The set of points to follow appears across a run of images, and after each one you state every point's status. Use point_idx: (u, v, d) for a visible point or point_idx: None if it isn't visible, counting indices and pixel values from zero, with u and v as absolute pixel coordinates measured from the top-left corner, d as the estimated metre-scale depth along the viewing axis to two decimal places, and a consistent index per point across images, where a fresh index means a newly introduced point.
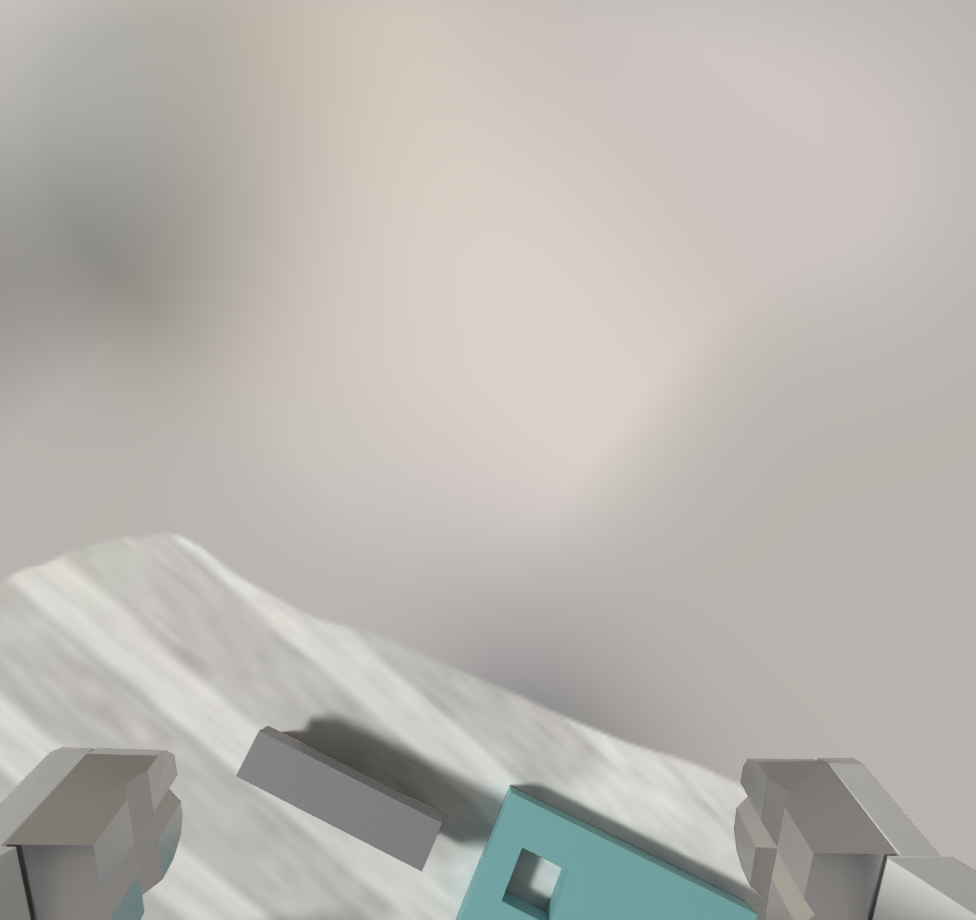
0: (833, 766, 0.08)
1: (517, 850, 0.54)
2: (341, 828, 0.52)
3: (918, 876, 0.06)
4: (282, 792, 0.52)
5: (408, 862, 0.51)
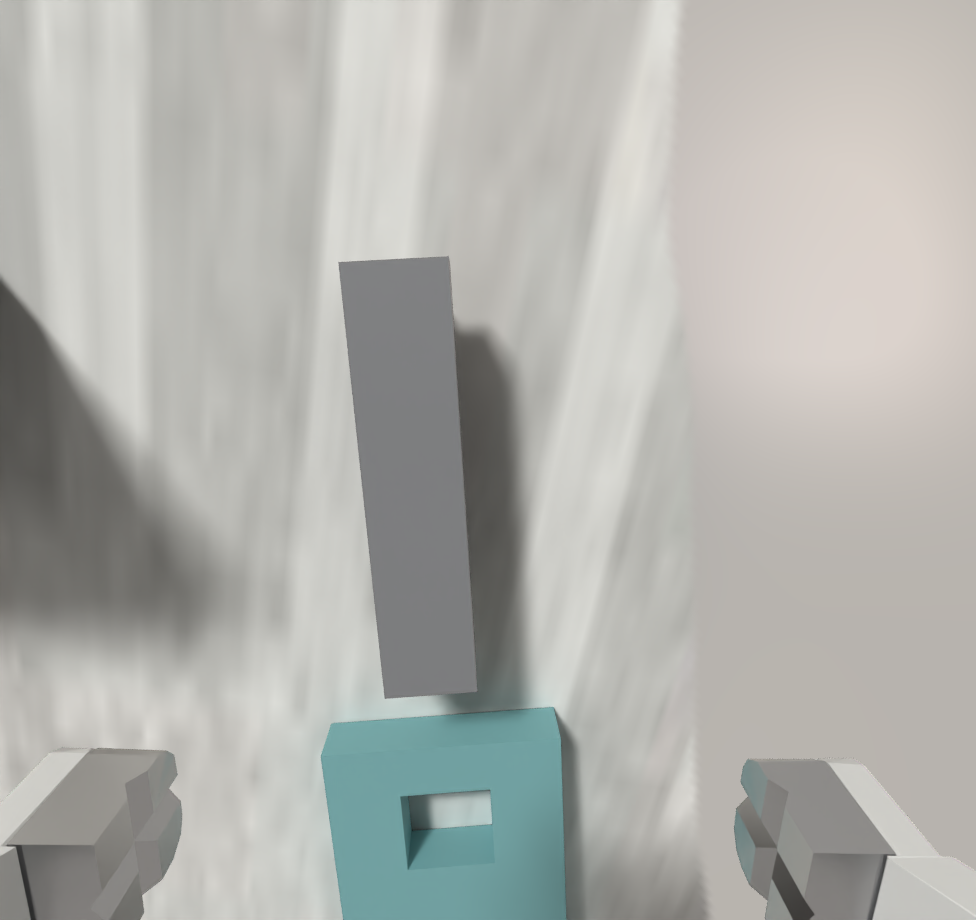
0: (833, 767, 0.08)
1: (482, 785, 0.31)
2: (369, 529, 0.24)
3: (917, 876, 0.06)
4: (364, 380, 0.23)
5: (385, 671, 0.26)
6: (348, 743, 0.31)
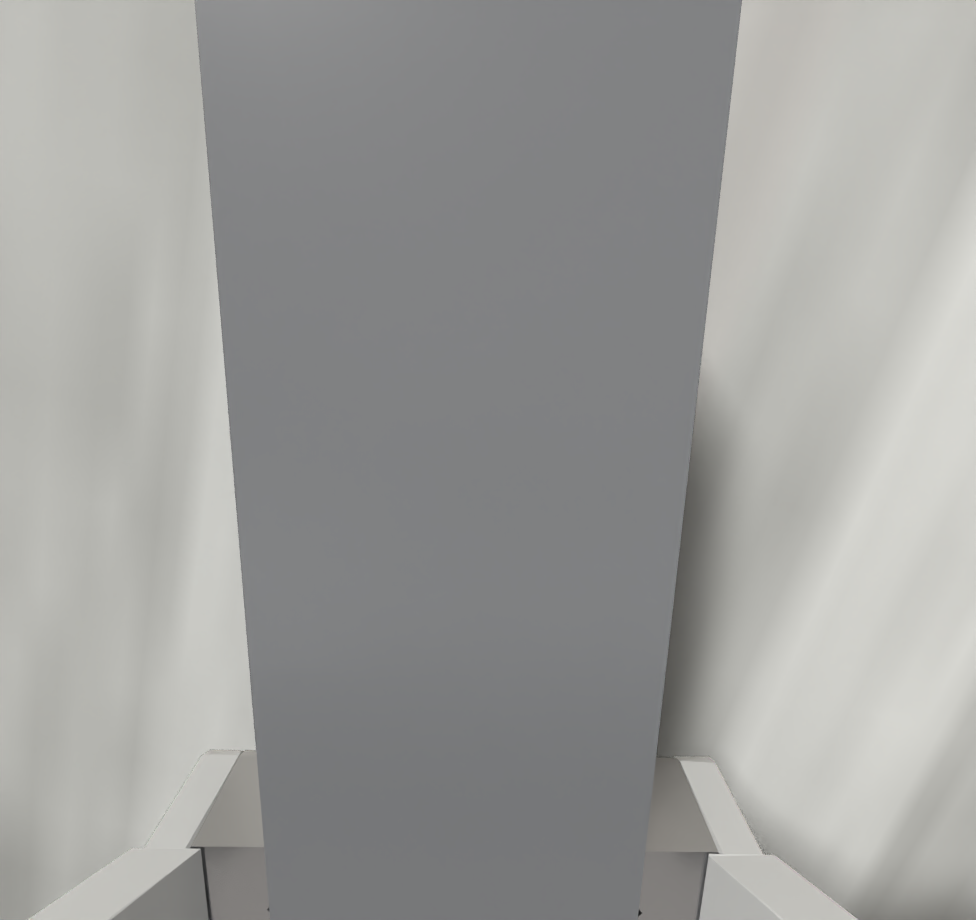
0: (684, 765, 0.08)
1: None
2: None
3: (732, 873, 0.06)
4: (294, 533, 0.05)
5: None
6: None
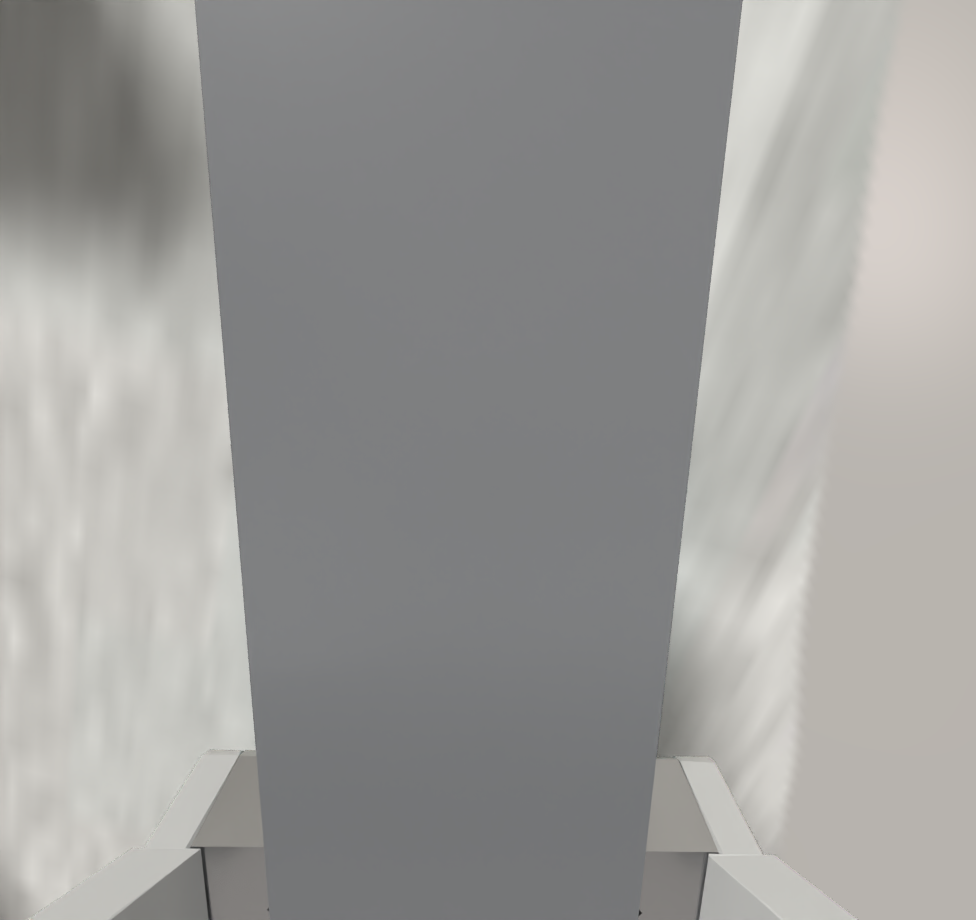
0: (683, 765, 0.08)
1: None
2: None
3: (732, 873, 0.06)
4: (294, 530, 0.05)
5: None
6: None
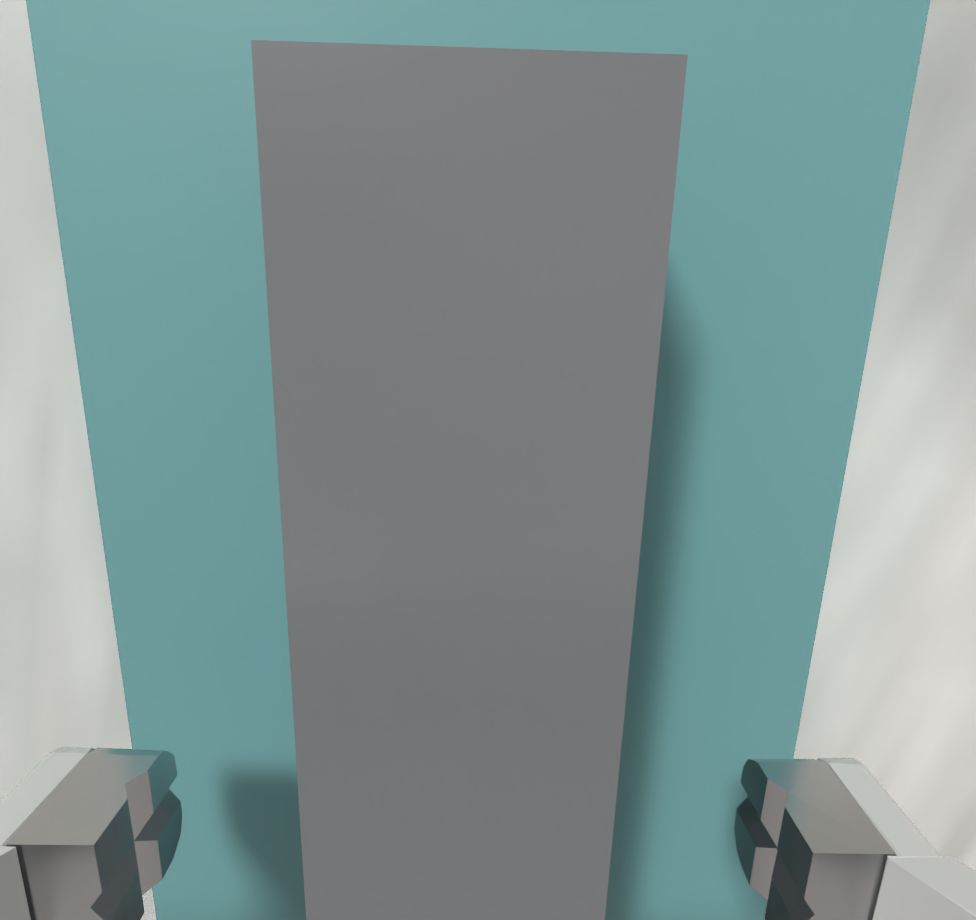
0: (833, 766, 0.08)
1: None
2: (314, 919, 0.08)
3: (917, 876, 0.06)
4: (325, 492, 0.07)
5: None
6: None
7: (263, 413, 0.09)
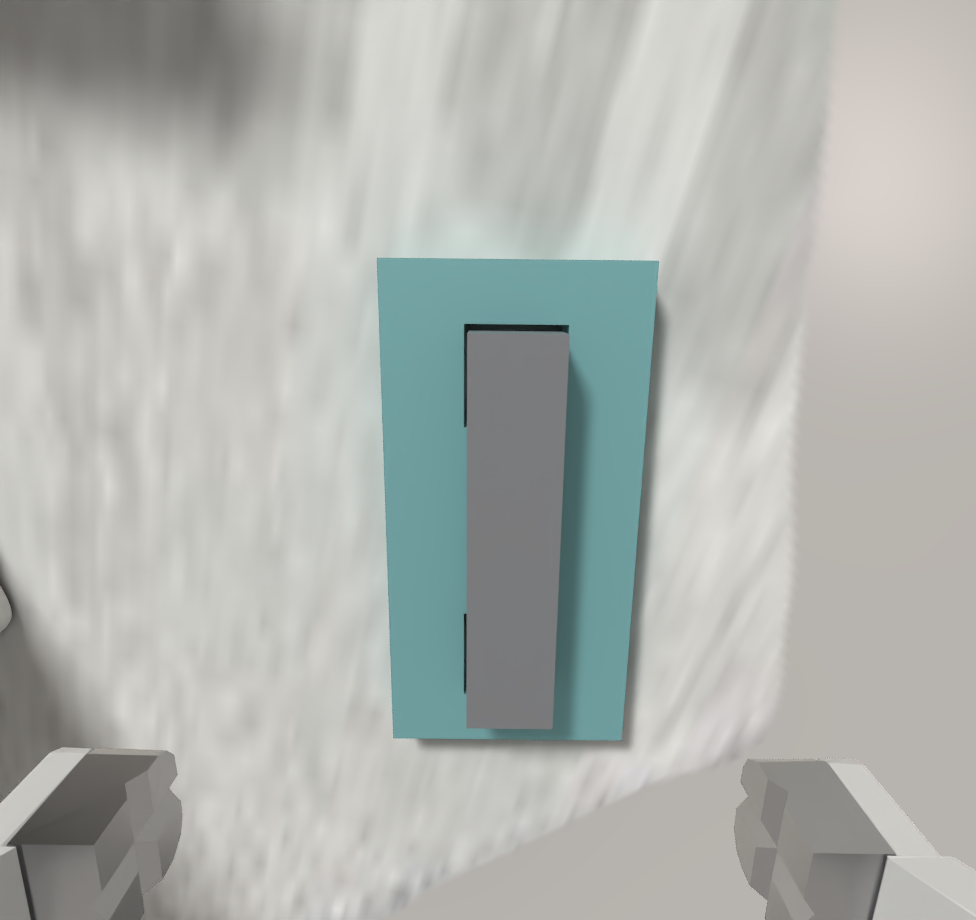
0: (834, 767, 0.08)
1: (560, 317, 0.26)
2: (469, 575, 0.26)
3: (917, 876, 0.06)
4: (479, 441, 0.25)
5: (469, 703, 0.28)
6: None
7: (442, 419, 0.27)
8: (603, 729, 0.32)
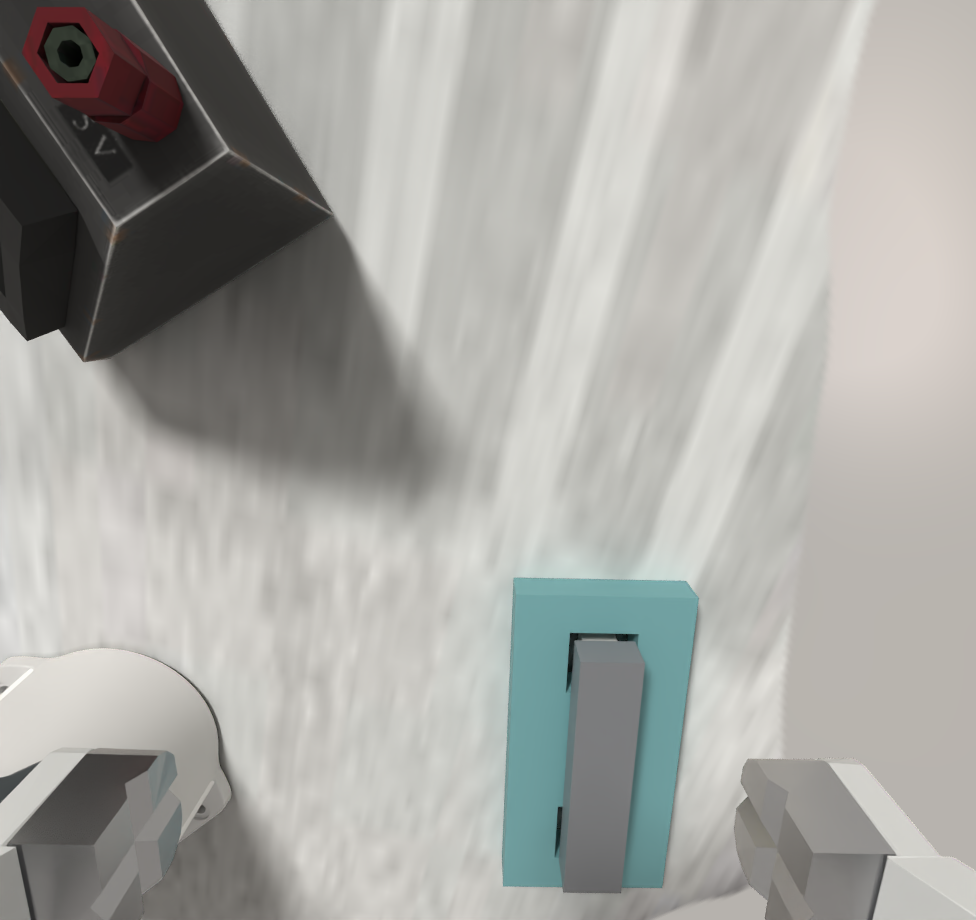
0: (834, 767, 0.08)
1: (633, 629, 0.40)
2: (571, 800, 0.40)
3: (917, 876, 0.06)
4: (584, 722, 0.38)
5: (566, 877, 0.41)
6: (533, 589, 0.40)
7: (552, 688, 0.41)
8: (649, 880, 0.45)
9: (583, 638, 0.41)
